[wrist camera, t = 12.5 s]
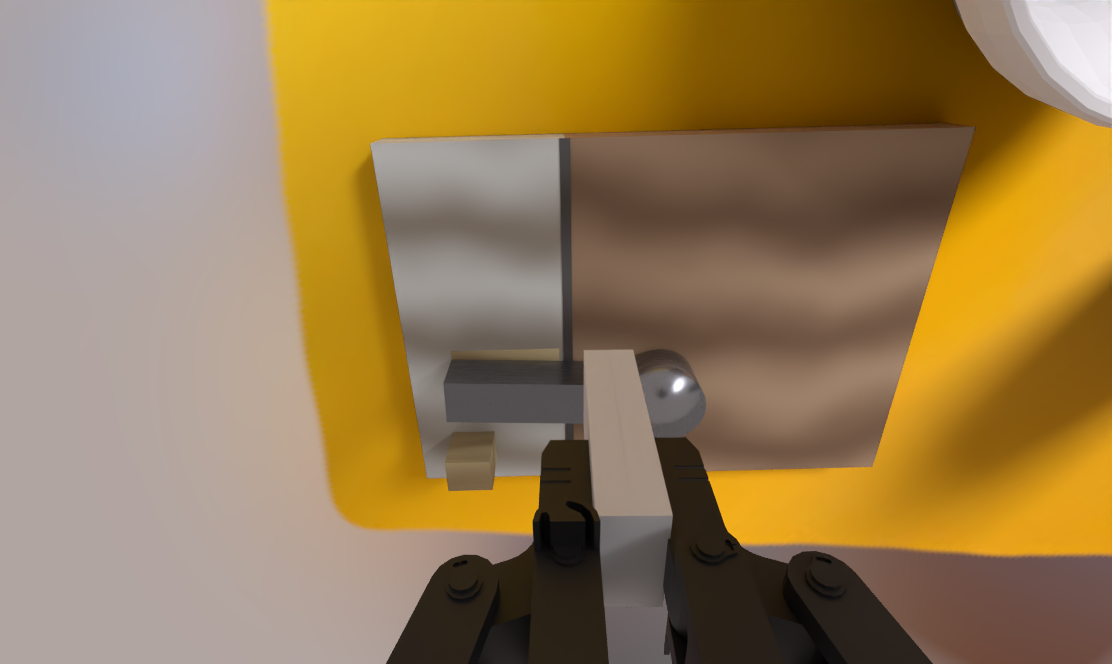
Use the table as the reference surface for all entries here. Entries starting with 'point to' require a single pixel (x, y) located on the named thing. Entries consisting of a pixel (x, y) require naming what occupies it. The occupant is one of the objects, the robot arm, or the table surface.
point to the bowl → (1049, 50)
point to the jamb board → (672, 276)
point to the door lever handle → (568, 392)
